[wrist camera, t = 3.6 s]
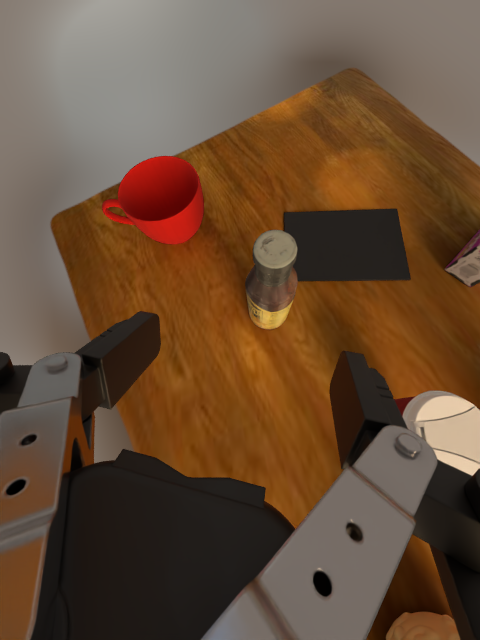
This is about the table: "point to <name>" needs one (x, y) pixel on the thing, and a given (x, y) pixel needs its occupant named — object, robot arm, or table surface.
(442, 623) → the sculpture
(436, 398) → the paper cup
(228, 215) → the table surface
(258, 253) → the sauce bottle
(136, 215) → the ceramic cup
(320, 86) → the table surface
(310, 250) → the placemat
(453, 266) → the candy bar box
